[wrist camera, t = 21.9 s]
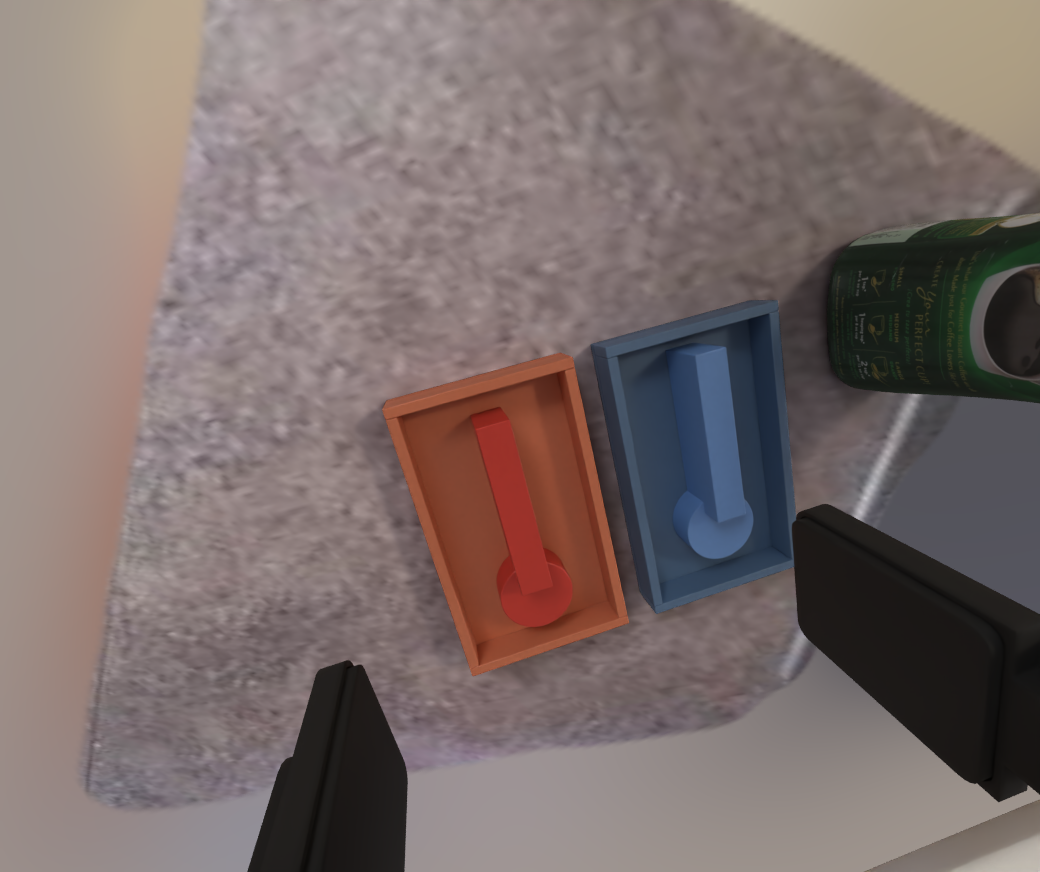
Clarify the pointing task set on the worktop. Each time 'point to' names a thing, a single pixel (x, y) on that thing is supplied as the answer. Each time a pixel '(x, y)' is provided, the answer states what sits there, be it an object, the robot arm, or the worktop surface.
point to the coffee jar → (940, 309)
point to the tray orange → (473, 515)
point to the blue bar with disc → (708, 452)
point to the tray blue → (658, 459)
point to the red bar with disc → (519, 531)
